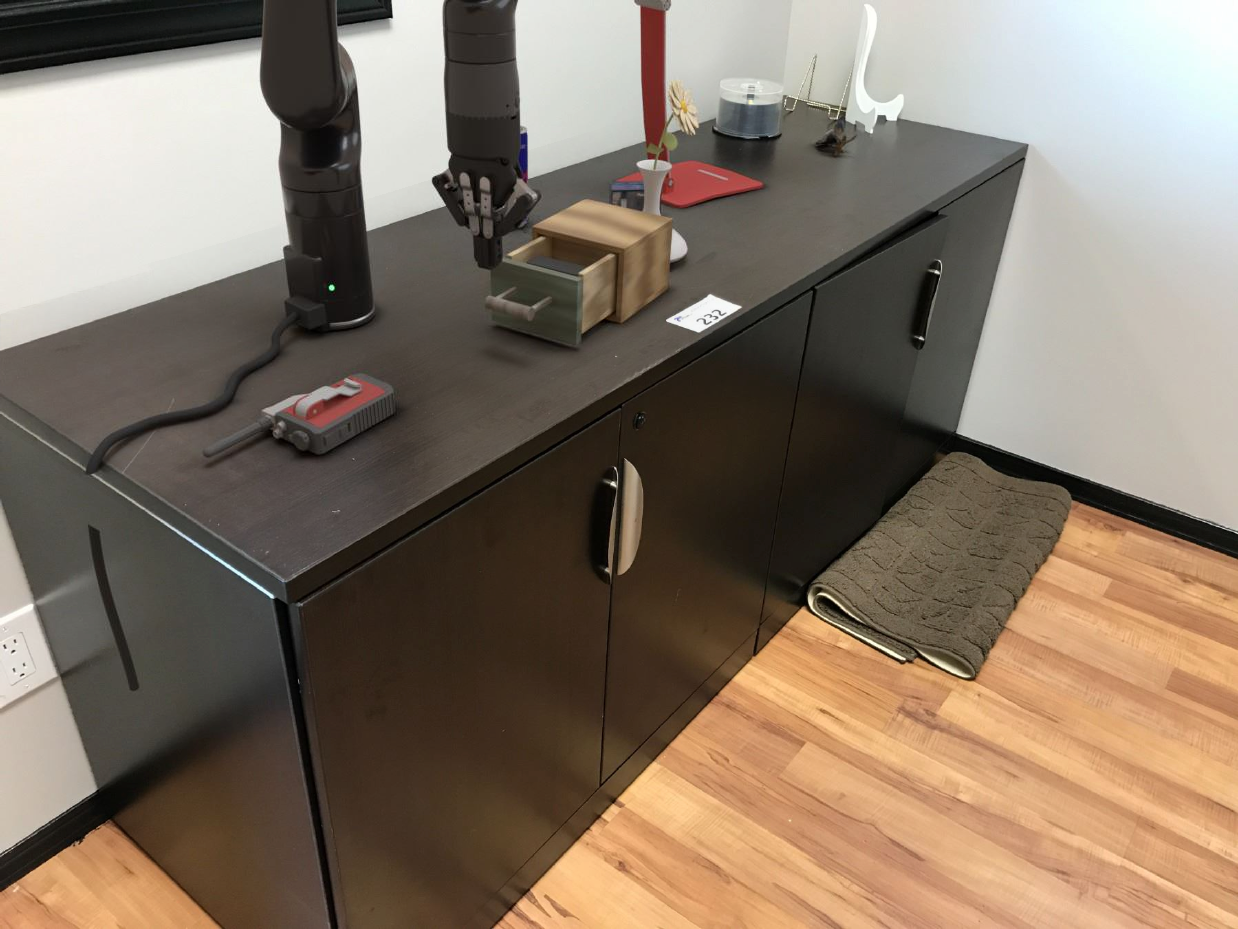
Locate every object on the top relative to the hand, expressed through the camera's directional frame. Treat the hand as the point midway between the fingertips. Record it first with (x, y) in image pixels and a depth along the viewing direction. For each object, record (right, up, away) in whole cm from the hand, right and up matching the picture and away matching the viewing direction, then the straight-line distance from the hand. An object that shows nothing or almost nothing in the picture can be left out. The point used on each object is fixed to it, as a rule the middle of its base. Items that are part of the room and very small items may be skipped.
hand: (489, 266), depth 110 cm
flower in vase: (+19, +9, +39) cm, 44 cm away
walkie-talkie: (-18, -19, -7) cm, 27 cm away
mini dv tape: (+17, +18, +52) cm, 58 cm away
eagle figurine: (+57, +41, +91) cm, 116 cm away
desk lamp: (+29, +29, +70) cm, 81 cm away
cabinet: (+12, +2, +26) cm, 29 cm away
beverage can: (-3, +16, +48) cm, 50 cm away
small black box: (+6, -2, +17) cm, 18 cm away
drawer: (+5, -4, +16) cm, 17 cm away
